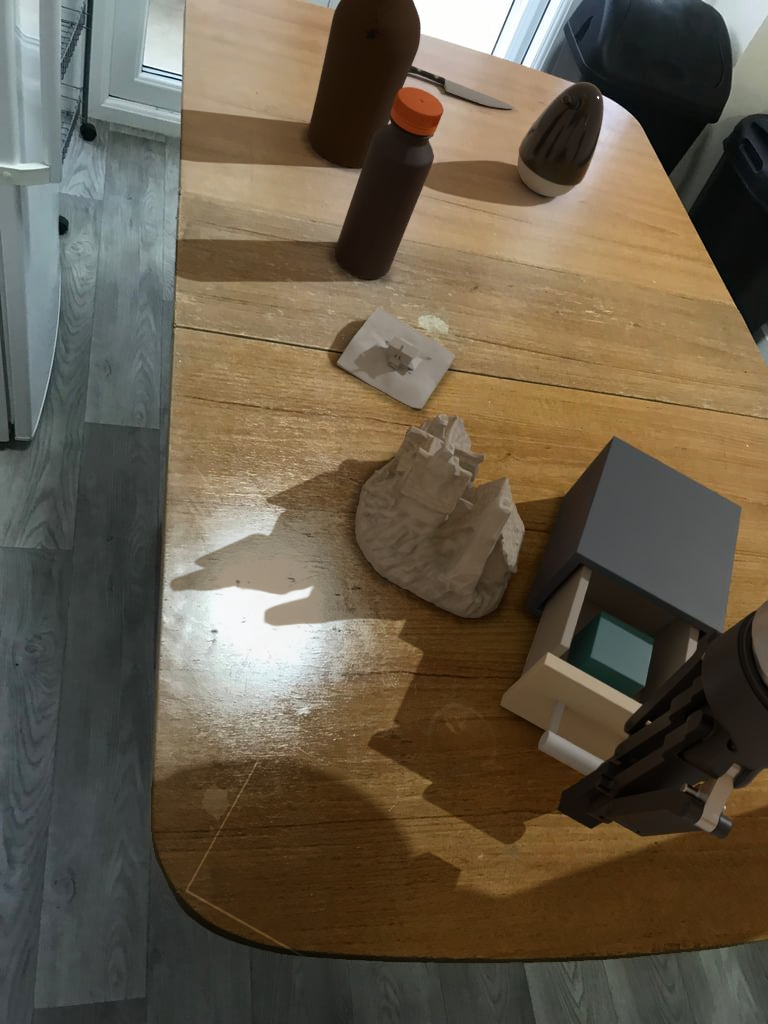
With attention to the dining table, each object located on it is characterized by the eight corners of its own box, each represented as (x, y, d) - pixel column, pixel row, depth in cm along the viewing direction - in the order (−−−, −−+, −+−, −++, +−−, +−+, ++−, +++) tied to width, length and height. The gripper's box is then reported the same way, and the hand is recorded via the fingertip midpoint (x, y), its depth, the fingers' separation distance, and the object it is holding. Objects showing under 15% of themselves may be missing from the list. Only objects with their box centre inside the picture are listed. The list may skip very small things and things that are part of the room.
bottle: (345, 234, 100) (400, 72, 85) (396, 259, 101) (460, 103, 85) (325, 262, 96) (379, 97, 81) (378, 289, 96) (442, 130, 81)
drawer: (624, 829, 66) (683, 798, 60) (483, 750, 66) (528, 712, 60) (662, 643, 78) (715, 602, 72) (544, 577, 78) (586, 530, 72)
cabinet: (656, 683, 76) (723, 634, 69) (523, 609, 76) (576, 551, 69) (681, 561, 86) (742, 506, 79) (564, 495, 86) (614, 435, 79)
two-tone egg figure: (493, 169, 121) (541, 66, 109) (536, 158, 127) (586, 59, 115) (542, 213, 118) (597, 113, 106) (583, 200, 124) (640, 103, 112)
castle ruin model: (479, 641, 72) (559, 535, 62) (320, 539, 74) (371, 419, 63) (536, 534, 83) (613, 428, 72) (396, 447, 85) (451, 332, 74)
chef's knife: (515, 119, 132) (515, 108, 134) (518, 113, 131) (518, 102, 133) (401, 78, 128) (402, 67, 129) (403, 71, 127) (404, 60, 128)
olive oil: (389, 174, 111) (462, -25, 92) (314, 167, 106) (374, -44, 87) (365, 126, 116) (429, -72, 97) (293, 118, 112) (345, -92, 92)
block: (623, 664, 74) (654, 638, 70) (612, 711, 70) (645, 687, 66) (573, 637, 74) (602, 609, 70) (560, 682, 70) (589, 656, 66)
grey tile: (331, 378, 85) (341, 352, 83) (353, 311, 93) (363, 285, 90) (440, 418, 87) (454, 394, 84) (453, 350, 94) (466, 325, 91)
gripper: (879, 826, 37) (603, 927, 55) (876, 608, 46) (638, 757, 63) (730, 743, 37) (504, 871, 55) (756, 540, 46) (552, 709, 64)
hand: (576, 810), depth 59 cm, fingers closed
